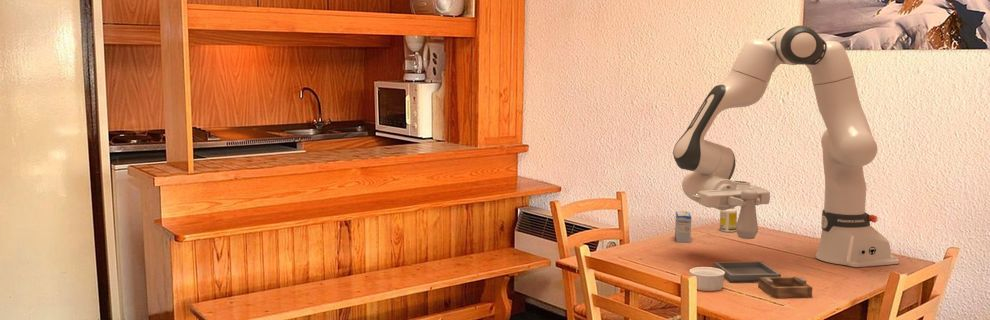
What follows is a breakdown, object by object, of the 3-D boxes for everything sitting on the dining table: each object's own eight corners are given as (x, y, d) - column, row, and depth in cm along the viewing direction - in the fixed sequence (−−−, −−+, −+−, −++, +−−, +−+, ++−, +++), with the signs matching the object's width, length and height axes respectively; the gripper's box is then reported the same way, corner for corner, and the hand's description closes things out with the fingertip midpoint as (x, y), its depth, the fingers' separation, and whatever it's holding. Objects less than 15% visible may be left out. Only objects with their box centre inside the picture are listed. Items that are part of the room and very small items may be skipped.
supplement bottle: (737, 229, 292) (738, 201, 291) (734, 233, 287) (735, 204, 286) (721, 228, 294) (722, 200, 293) (718, 231, 289) (719, 202, 288)
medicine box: (674, 236, 282) (675, 210, 280) (688, 237, 281) (689, 211, 280) (676, 242, 274) (677, 215, 273) (690, 242, 273) (691, 215, 272)
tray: (761, 268, 242) (761, 261, 242) (780, 281, 229) (781, 274, 229) (713, 269, 241) (714, 262, 241) (730, 282, 228) (730, 275, 228)
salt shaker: (756, 240, 230) (760, 193, 228) (734, 238, 232) (737, 191, 230) (758, 235, 236) (761, 189, 234) (736, 233, 238) (739, 187, 236)
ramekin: (703, 293, 218) (703, 277, 218) (682, 284, 226) (682, 268, 226) (731, 289, 222) (732, 273, 221) (709, 281, 230) (710, 265, 229)
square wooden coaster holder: (795, 286, 225) (795, 273, 225) (811, 297, 215) (812, 284, 215) (758, 286, 224) (758, 274, 224) (773, 298, 214) (773, 285, 214)
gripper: (689, 184, 241) (718, 193, 228) (752, 181, 247) (783, 189, 235) (688, 207, 242) (717, 216, 229) (751, 203, 248) (781, 212, 235)
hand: (751, 202), depth 232 cm, fingers closed on salt shaker, 3 cm apart
